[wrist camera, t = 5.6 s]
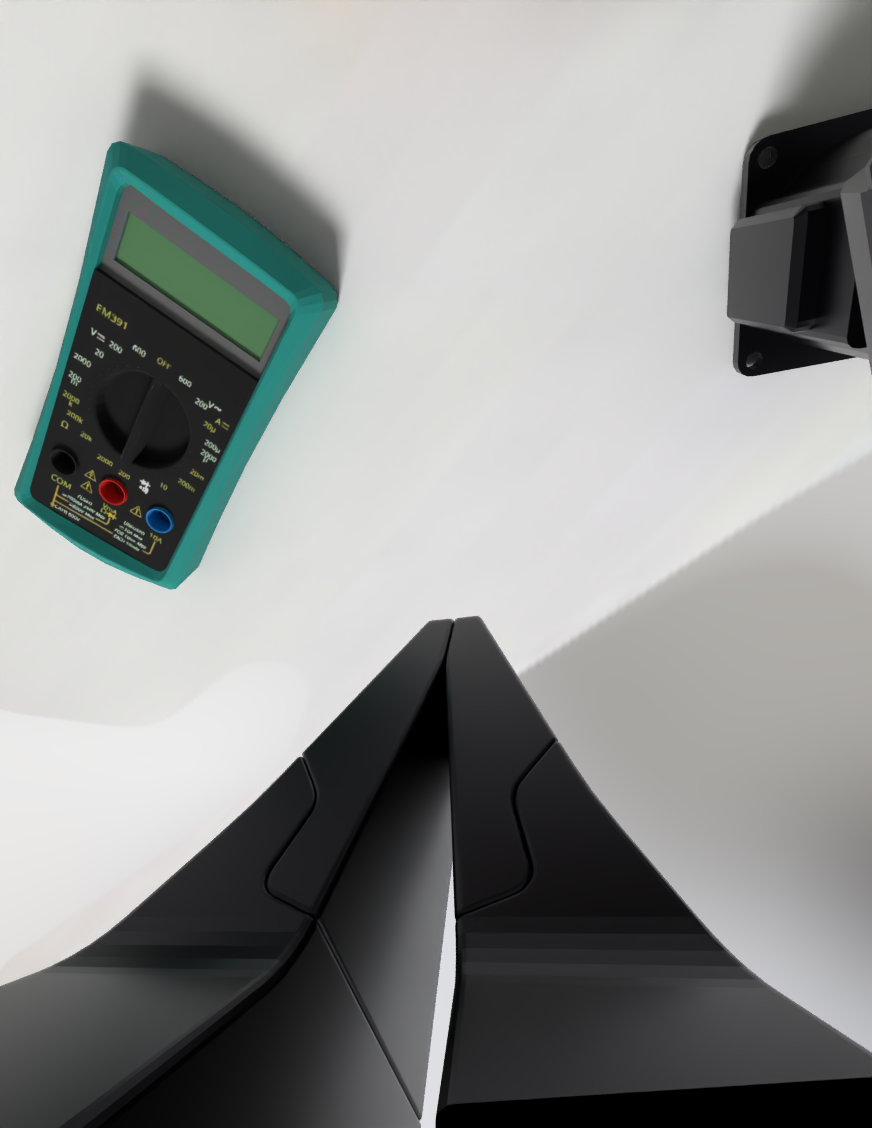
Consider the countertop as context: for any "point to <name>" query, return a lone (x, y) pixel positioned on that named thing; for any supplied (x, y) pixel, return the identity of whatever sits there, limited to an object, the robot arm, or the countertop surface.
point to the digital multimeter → (166, 368)
